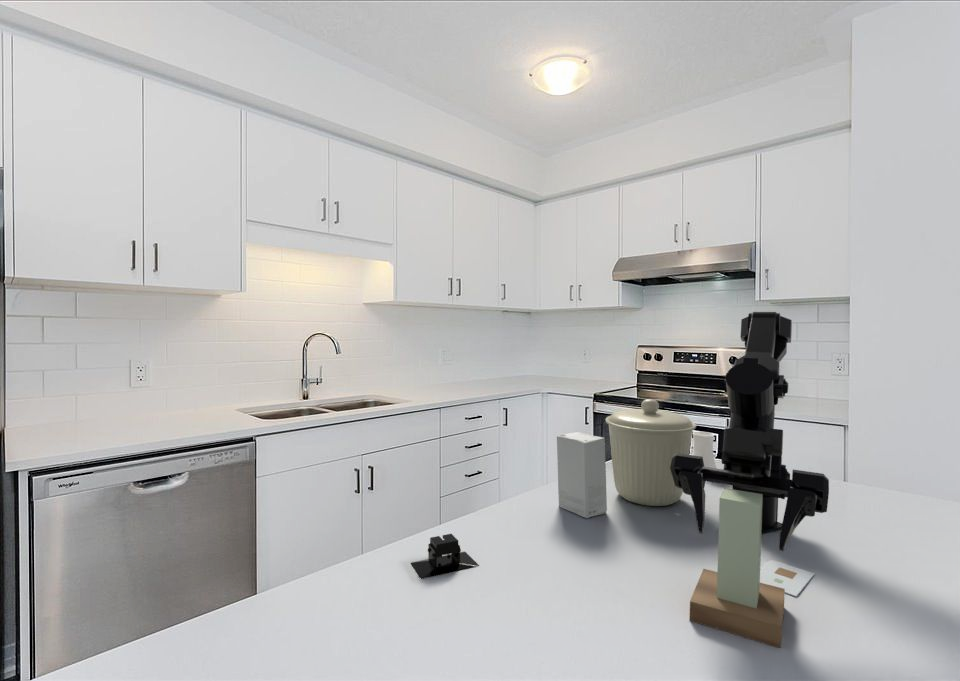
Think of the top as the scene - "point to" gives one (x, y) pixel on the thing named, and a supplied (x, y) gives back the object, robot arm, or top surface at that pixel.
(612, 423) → the canister
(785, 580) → the blueprint card
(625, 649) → the top surface
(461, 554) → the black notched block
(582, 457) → the skincare box
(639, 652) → the top surface
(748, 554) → the pillar
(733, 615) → the foundation slab
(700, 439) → the vase
